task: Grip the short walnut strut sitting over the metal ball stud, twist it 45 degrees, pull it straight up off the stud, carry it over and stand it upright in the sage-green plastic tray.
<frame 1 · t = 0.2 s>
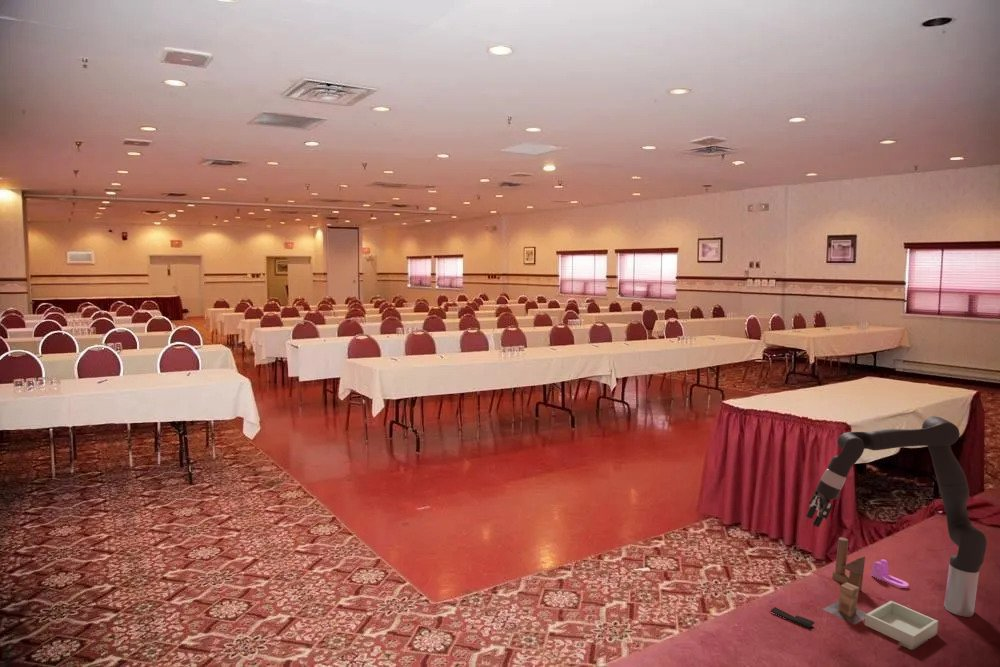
hand: (812, 521, 256), 31 cm above the table, tool tilted 20°, fingers open, 8 cm apart
brown wooden angled stand: (846, 585, 272), on the table
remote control: (792, 620, 246), on the table
stud plate: (846, 614, 250), on the table
bracket: (890, 582, 277), on the table
strut: (846, 612, 250), point 1 cm above the table, touching stud plate
tray: (900, 630, 240), on the table
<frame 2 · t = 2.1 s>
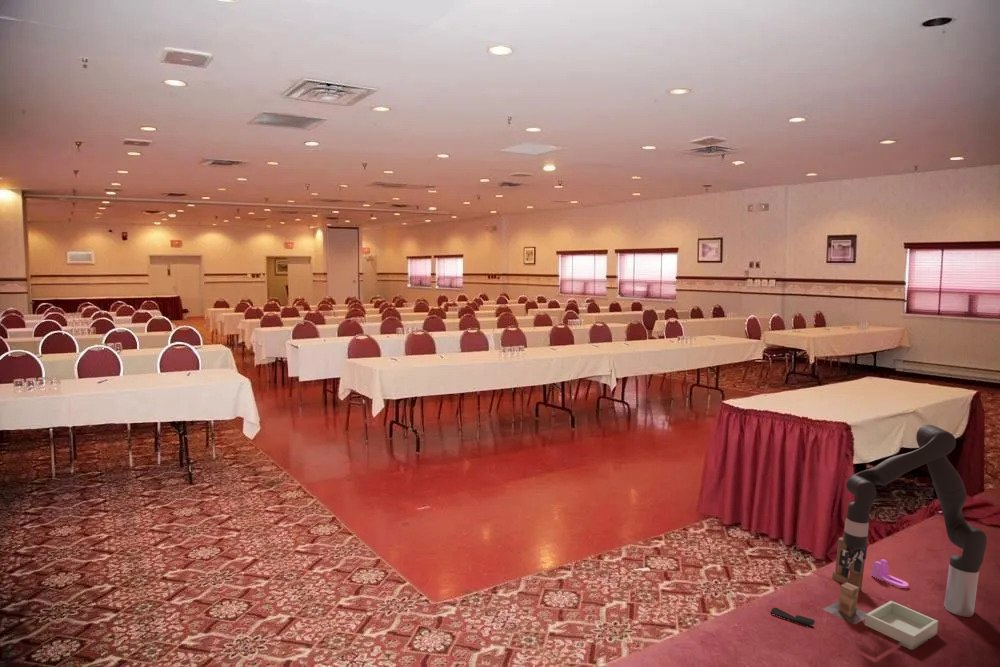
hand: (851, 574, 248), 16 cm above the table, tool pointing down, fingers open, 8 cm apart
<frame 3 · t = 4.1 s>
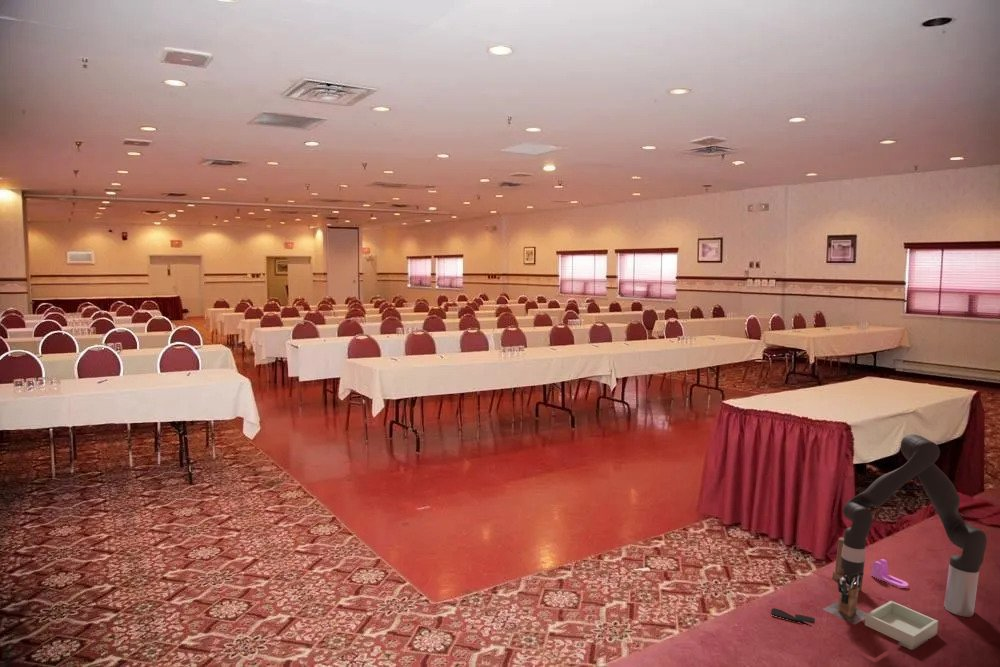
hand: (848, 601, 249), 5 cm above the table, tool pointing down, fingers closed on strut, 4 cm apart
strut: (846, 612, 250), point 1 cm above the table, touching gripper, stud plate
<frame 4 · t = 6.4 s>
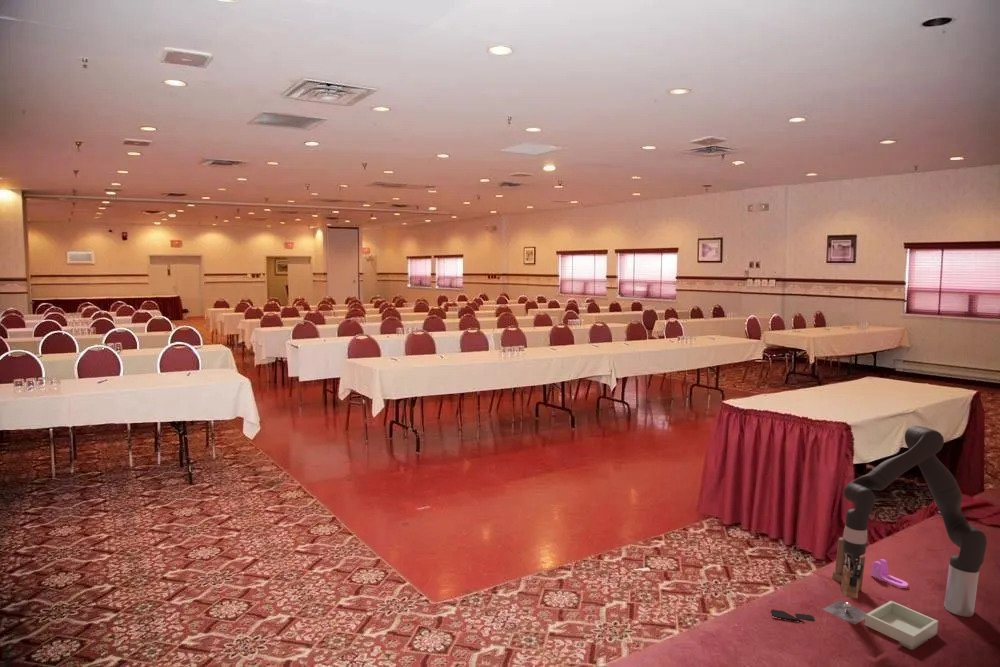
hand: (850, 583, 248), 12 cm above the table, tool pointing down, fingers closed on strut, 4 cm apart
strut: (848, 594, 249), point 8 cm above the table, touching gripper
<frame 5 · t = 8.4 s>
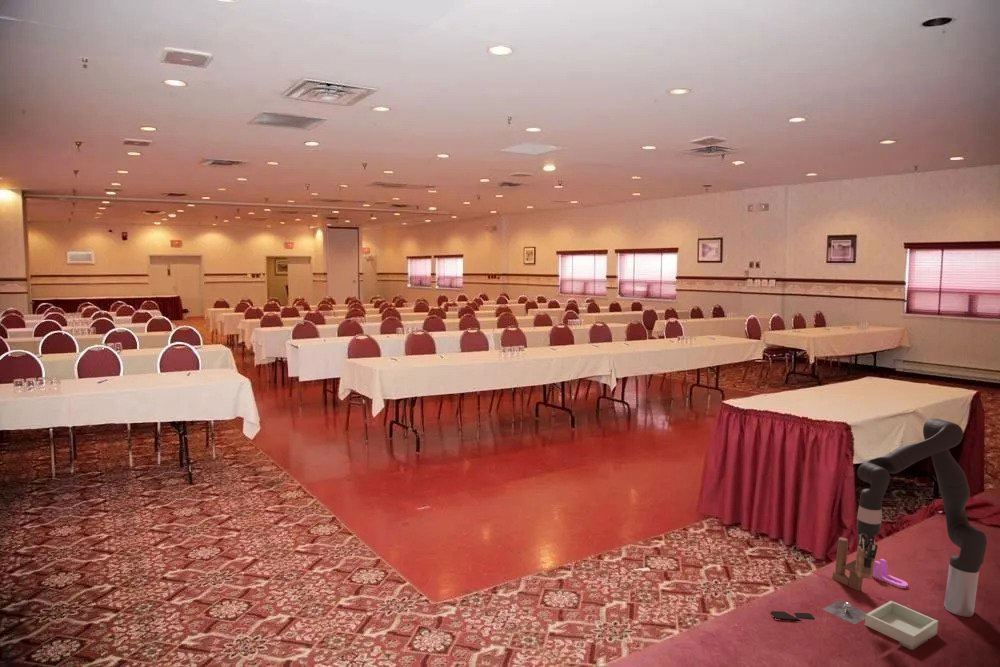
hand: (864, 564, 245), 21 cm above the table, tool pointing down, fingers closed on strut, 4 cm apart
strut: (863, 575, 246), point 16 cm above the table, touching gripper
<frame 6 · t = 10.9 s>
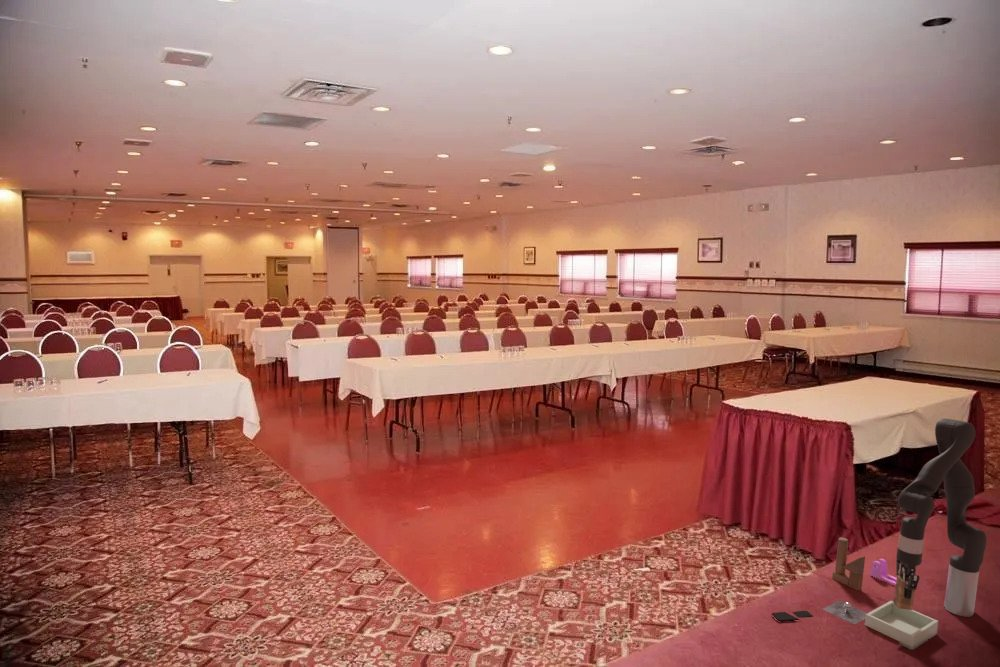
hand: (904, 594, 239), 14 cm above the table, tool pointing down, fingers closed on strut, 4 cm apart
strut: (902, 605, 239), point 9 cm above the table, touching gripper
when the fingers open (7 cm above the table, at t = 13.0 s): strut drops 1 cm, resting on tray.
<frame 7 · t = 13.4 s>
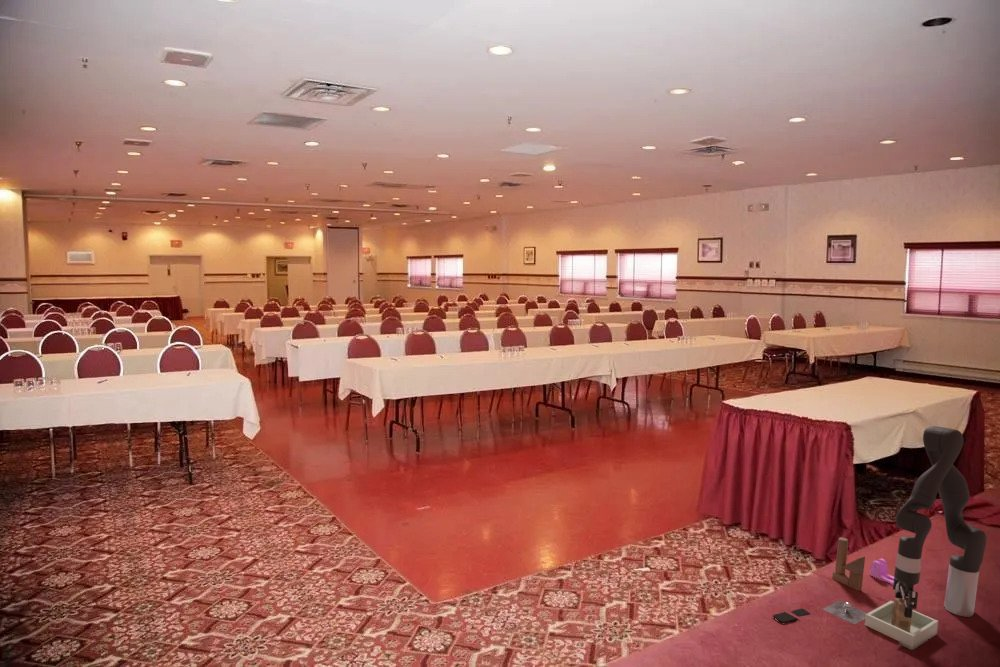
hand: (902, 610, 239), 8 cm above the table, tool pointing down, fingers open, 8 cm apart
strut: (900, 628, 240), point 1 cm above the table, touching tray
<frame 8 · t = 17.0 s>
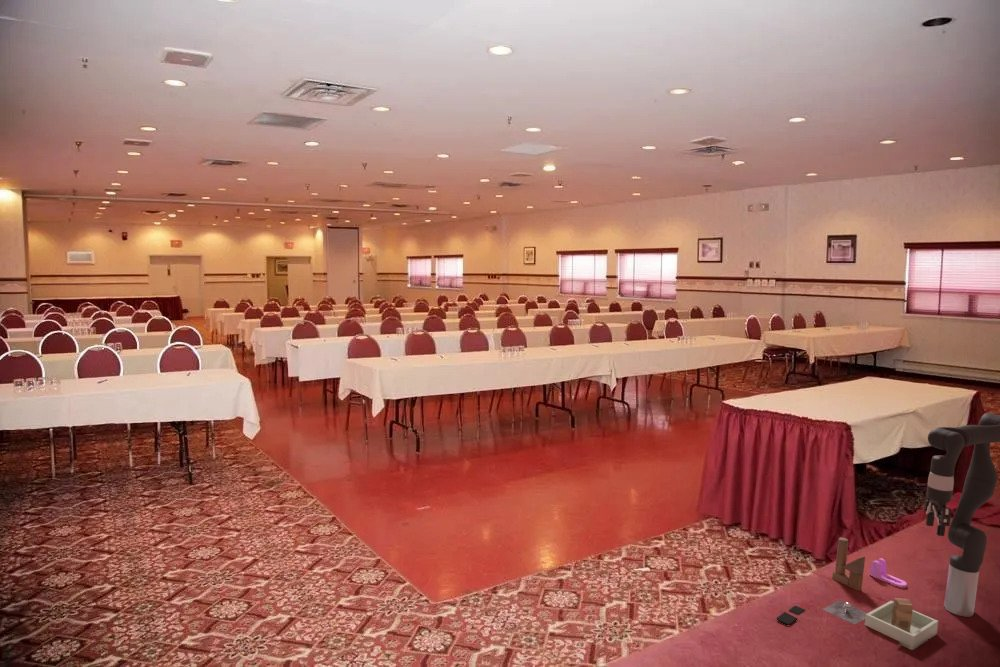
hand: (934, 530, 239), 36 cm above the table, tool pointing down, fingers open, 8 cm apart
at the end: strut inside the target area on the tray (0.1 cm from its centre), point 1.0 cm above the tray's base; strut tilted 0°; the gripper is holding nothing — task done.
